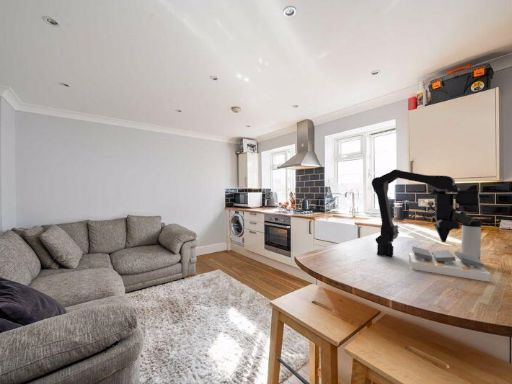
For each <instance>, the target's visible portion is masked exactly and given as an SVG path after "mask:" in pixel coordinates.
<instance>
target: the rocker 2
mask: <svg viewBox="0 0 512 384" xmlns="http://www.w3.org/2000/svg"><path fill="white" fill-rule="evenodd" d="M430 253H431V255H432V256H434V258H435V259H436V261H456V259H457V258H456V256H455V255H454V254H453V253H452V252H451V251H450V250H448V249H447V250H446V249H445V250H444V249H443V250H441V249H440V250H431V252H430Z"/></svg>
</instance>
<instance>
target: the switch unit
mask: <svg viewBox="0 0 512 384" xmlns="http://www.w3.org/2000/svg"><path fill="white" fill-rule="evenodd" d="M432 256H433V255H432ZM455 259H456V261H436V259H435V258H434V256H433V258H432V260H430V259H426V258H423V257H419V256H415V255H414V253H413V252H408V261H409V264H410V267H411V269H412V270H417V271H421V272H427V273H429V272H430V273H433V274H441V275H447V276H452V277H459V278H466V279H471V280H478V281H481V282H482V281H484V282H491V273H490V272H489V271H487V269H485V268H484V267H483V268H482V267H479V266H475V265H472V264H469V263H465V262H462V261H461V260H460V259H459V258H455Z"/></svg>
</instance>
